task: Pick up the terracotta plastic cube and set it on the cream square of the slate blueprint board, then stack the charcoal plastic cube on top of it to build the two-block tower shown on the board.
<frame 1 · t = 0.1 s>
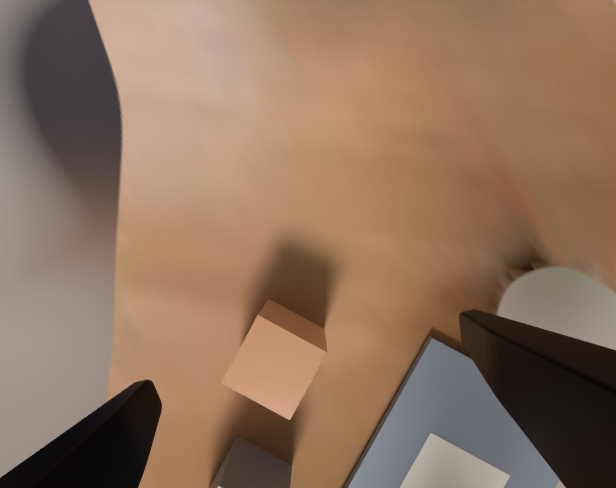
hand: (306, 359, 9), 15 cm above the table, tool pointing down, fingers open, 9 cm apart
terracotta cube: (281, 340, 24), on the table
charcoal cube: (250, 476, 25), on the table
blueprint board: (445, 485, 24), on the table
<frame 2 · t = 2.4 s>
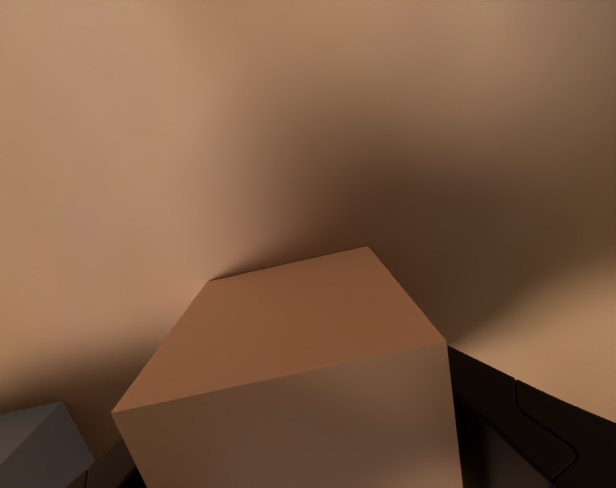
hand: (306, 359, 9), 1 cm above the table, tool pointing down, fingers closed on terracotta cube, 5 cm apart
terracotta cube: (305, 334, 10), on the table, touching gripper
charcoal cube: (28, 468, 11), on the table
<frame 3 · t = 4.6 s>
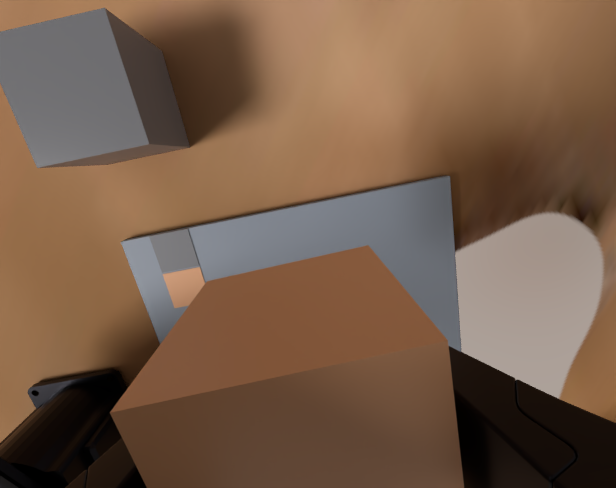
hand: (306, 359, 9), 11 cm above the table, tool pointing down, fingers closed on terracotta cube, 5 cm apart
terracotta cube: (305, 334, 10), point 10 cm above the table, touching gripper
charcoal cube: (134, 110, 17), on the table
blueprint board: (305, 308, 21), on the table
when the fingers open (3 cm above the table, at t = 6.9 s): terracotta cube drops 2 cm, resting on blueprint board.
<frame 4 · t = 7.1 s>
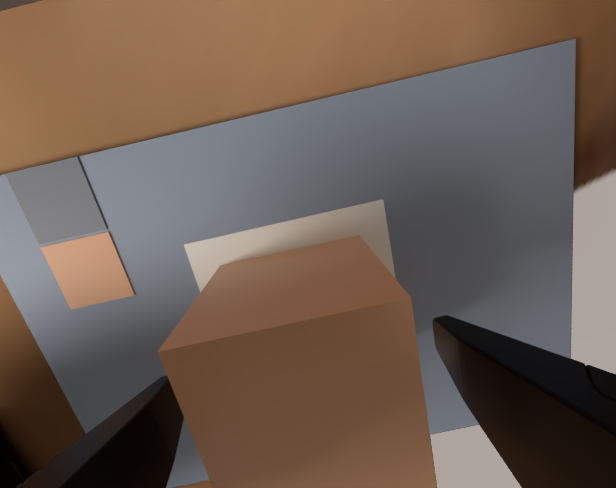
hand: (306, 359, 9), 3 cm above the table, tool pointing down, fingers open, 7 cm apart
terracotta cube: (304, 313, 11), point 1 cm above the table, touching blueprint board
blueprint board: (304, 304, 12), on the table
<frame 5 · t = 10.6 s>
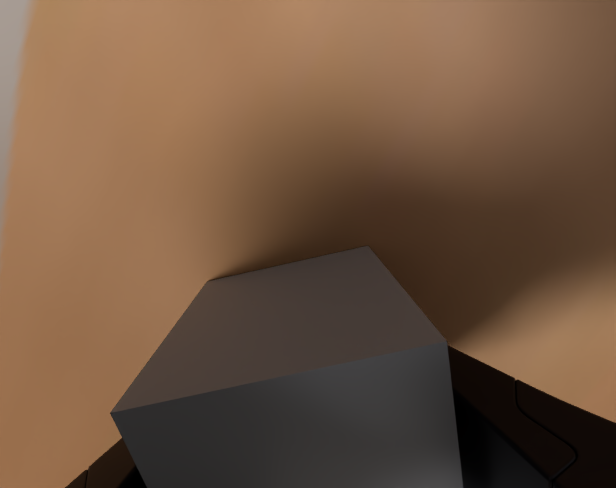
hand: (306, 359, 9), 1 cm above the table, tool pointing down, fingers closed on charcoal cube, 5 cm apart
charcoal cube: (305, 334, 10), on the table, touching gripper
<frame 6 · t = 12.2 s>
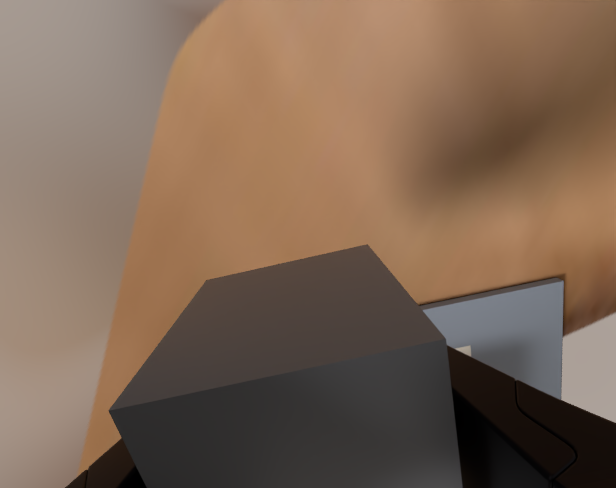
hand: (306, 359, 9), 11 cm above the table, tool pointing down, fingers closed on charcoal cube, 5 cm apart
charcoal cube: (304, 333, 10), point 10 cm above the table, touching gripper
blueprint board: (422, 389, 23), on the table
when the fingers open (8 cm above the table, at t = 14.2 s): charcoal cube drops 1 cm, resting on terracotta cube.
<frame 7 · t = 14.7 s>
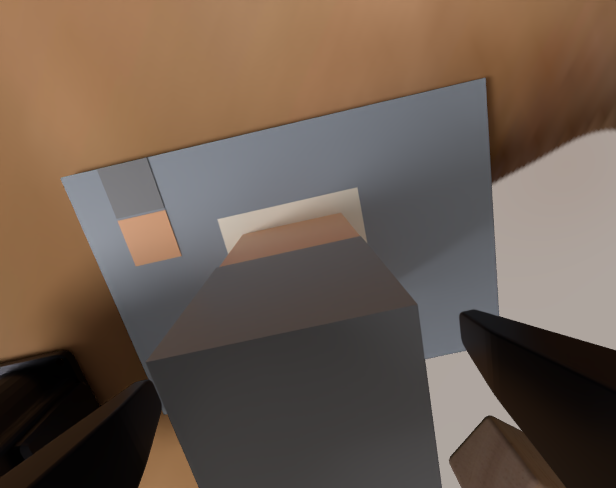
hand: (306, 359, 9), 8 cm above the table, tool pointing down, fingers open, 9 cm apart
wooden block: (514, 457, 21), on the table
terracotta cube: (302, 269, 16), point 1 cm above the table, touching blueprint board, charcoal cube
charcoal cube: (304, 316, 11), point 6 cm above the table, touching terracotta cube
blueprint board: (302, 265, 16), on the table
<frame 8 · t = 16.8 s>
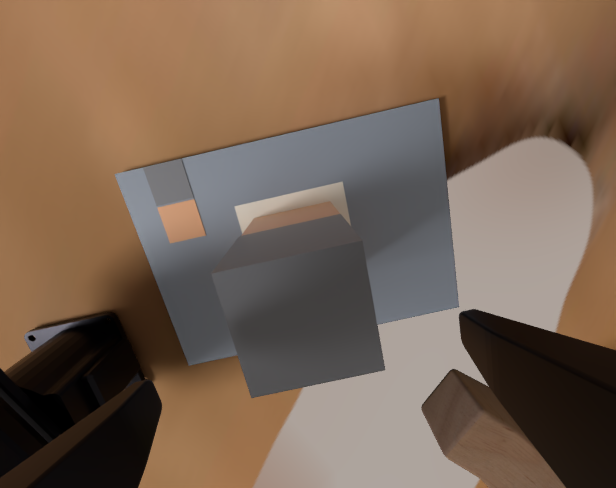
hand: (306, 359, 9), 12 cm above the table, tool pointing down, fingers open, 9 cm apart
wooden block: (476, 406, 25), on the table
terracotta cube: (300, 246, 20), point 1 cm above the table, touching blueprint board, charcoal cube
charcoal cube: (301, 272, 15), point 6 cm above the table, touching terracotta cube
blueprint board: (300, 243, 21), on the table
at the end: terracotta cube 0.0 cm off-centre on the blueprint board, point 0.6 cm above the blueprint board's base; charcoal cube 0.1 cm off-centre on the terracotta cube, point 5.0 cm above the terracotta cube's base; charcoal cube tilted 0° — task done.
